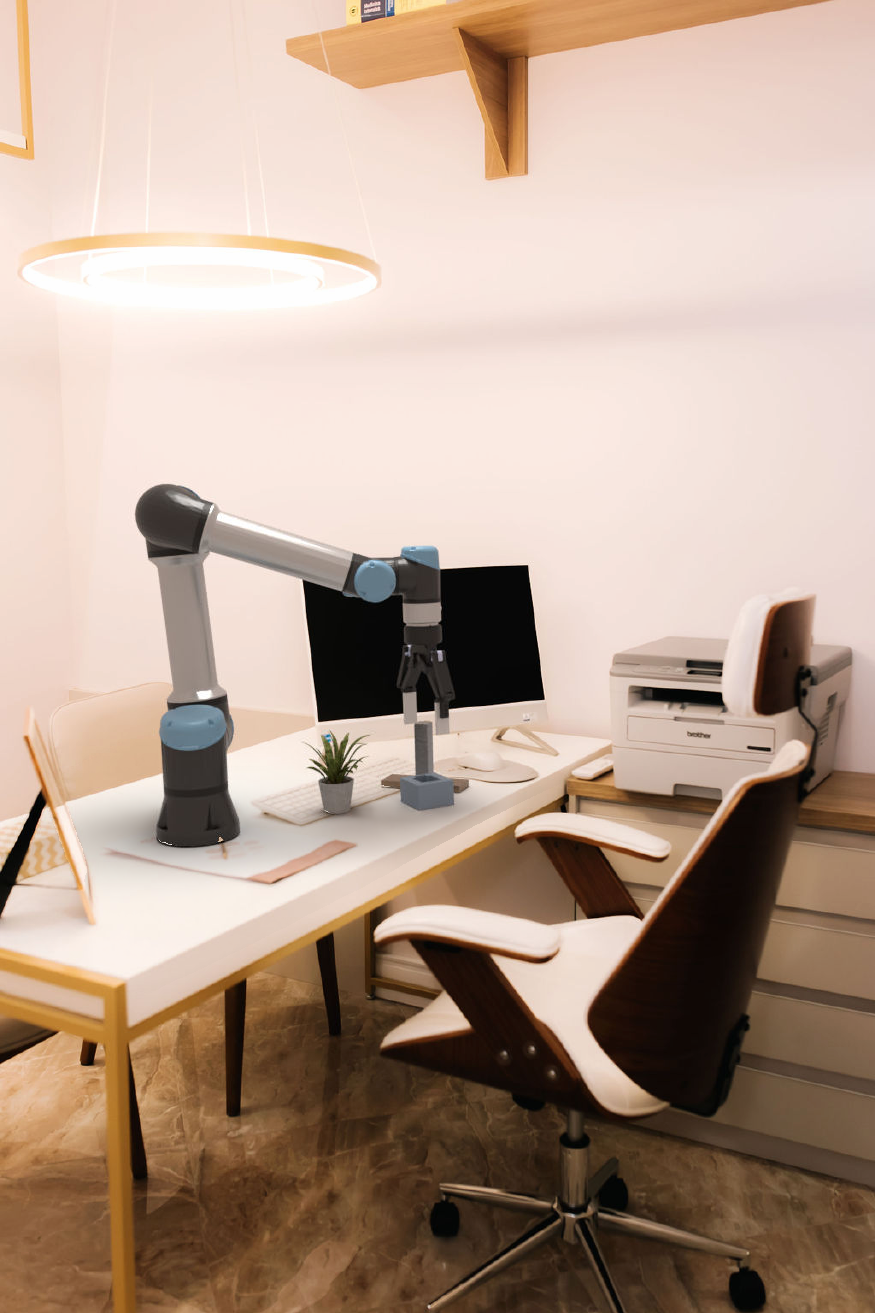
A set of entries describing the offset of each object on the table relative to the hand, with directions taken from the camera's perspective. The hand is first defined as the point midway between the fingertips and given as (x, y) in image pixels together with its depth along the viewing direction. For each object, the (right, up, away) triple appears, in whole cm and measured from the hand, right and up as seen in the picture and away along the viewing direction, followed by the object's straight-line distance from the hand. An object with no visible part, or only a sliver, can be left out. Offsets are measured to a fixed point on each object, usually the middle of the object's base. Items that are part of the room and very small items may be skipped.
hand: (426, 729), depth 210 cm
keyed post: (0, -14, +15) cm, 20 cm away
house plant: (-16, -16, -2) cm, 23 cm away
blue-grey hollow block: (0, -15, +2) cm, 15 cm away
